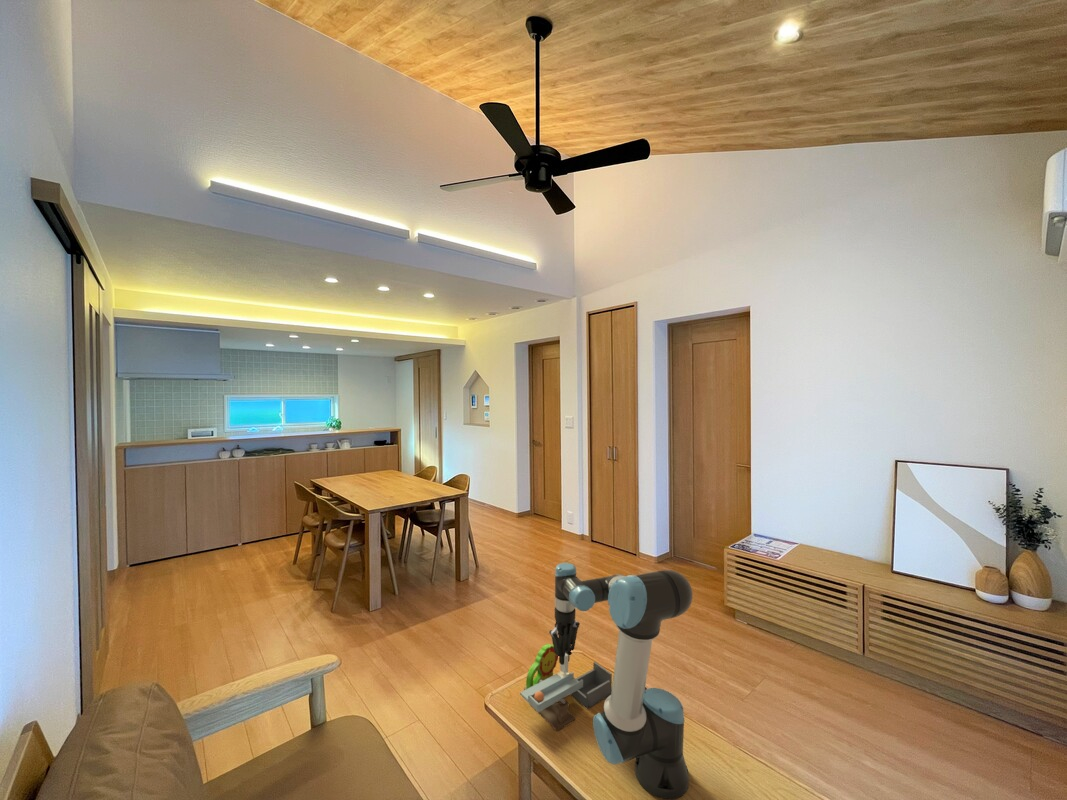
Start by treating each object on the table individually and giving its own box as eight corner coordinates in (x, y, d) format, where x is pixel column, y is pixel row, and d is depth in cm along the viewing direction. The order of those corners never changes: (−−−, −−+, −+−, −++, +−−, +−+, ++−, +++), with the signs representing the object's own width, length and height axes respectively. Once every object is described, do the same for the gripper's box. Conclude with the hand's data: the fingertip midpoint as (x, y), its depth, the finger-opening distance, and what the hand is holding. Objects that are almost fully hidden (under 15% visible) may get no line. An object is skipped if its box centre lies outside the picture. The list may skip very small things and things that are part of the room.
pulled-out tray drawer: (611, 694, 160) (611, 673, 159) (587, 709, 152) (587, 687, 152) (594, 682, 167) (594, 661, 166) (571, 695, 159) (571, 674, 159)
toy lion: (533, 702, 155) (534, 661, 155) (522, 695, 159) (523, 654, 159) (561, 680, 167) (561, 642, 167) (550, 674, 171) (551, 636, 170)
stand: (575, 720, 147) (575, 701, 147) (557, 731, 143) (557, 712, 142) (547, 695, 159) (547, 677, 159) (529, 704, 154) (529, 686, 154)
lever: (585, 691, 152) (586, 682, 152) (541, 717, 139) (541, 707, 139) (561, 671, 162) (561, 663, 162) (517, 694, 150) (517, 685, 150)
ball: (545, 702, 144) (546, 692, 144) (538, 706, 142) (538, 697, 142) (539, 696, 147) (540, 687, 146) (532, 700, 145) (532, 691, 145)
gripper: (571, 598, 164) (570, 659, 165) (544, 608, 156) (543, 672, 157) (585, 606, 158) (584, 669, 159) (558, 617, 150) (557, 684, 151)
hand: (564, 671), depth 158 cm, fingers closed
